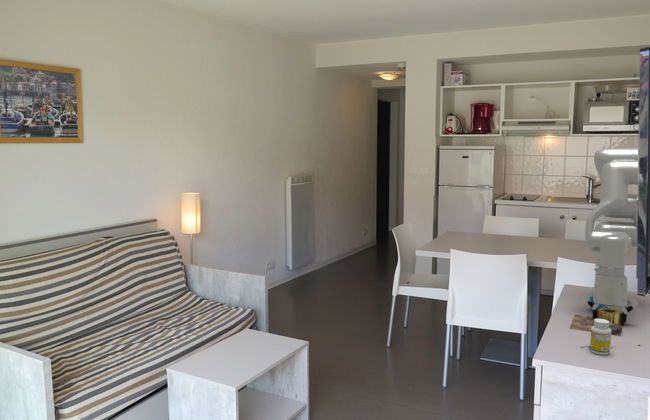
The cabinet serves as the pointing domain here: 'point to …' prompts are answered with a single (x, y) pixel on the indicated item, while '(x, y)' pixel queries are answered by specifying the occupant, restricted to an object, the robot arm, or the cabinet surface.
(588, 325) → the gear board
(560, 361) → the cabinet surface
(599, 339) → the supplement bottle
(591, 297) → the gear
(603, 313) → the brass gear
